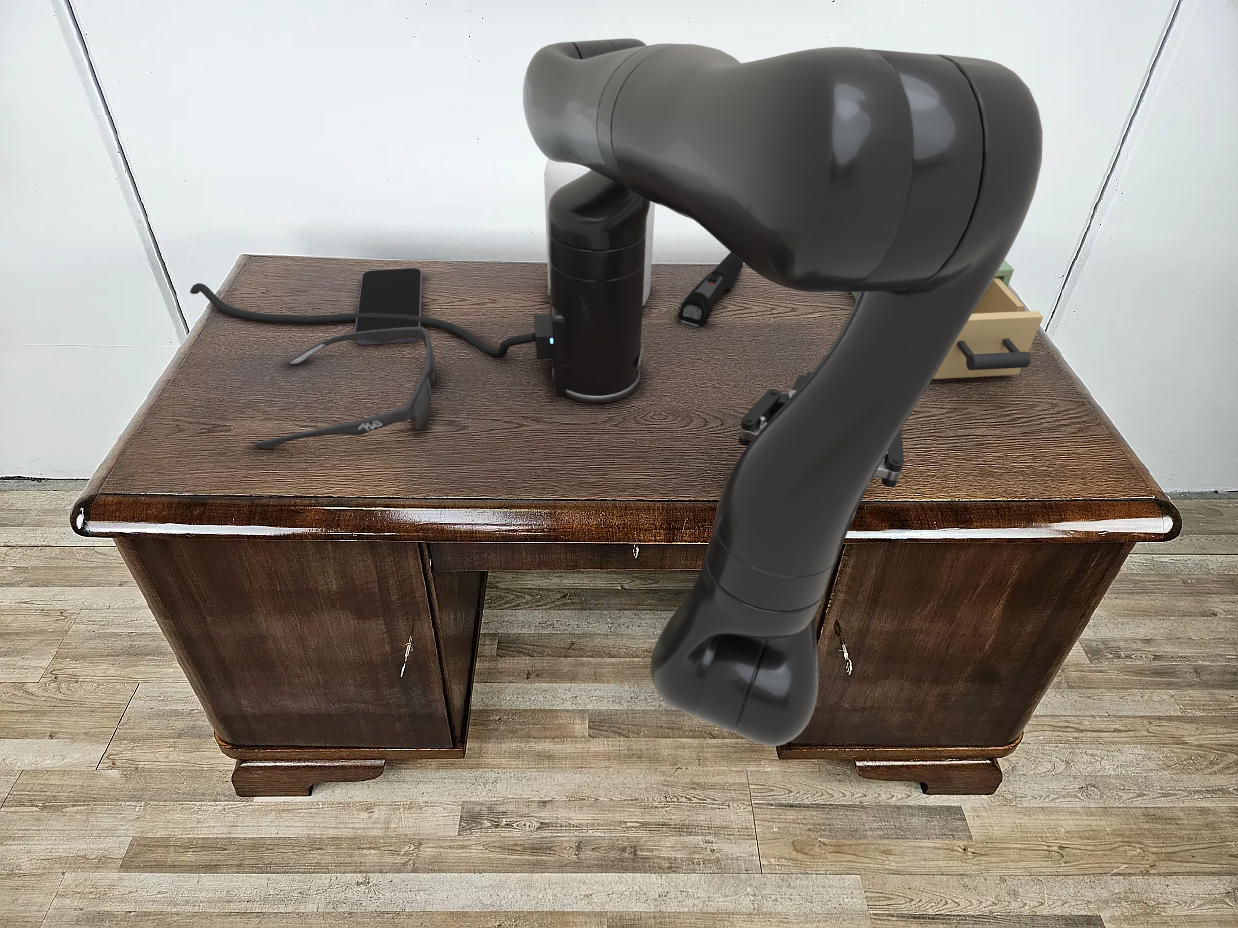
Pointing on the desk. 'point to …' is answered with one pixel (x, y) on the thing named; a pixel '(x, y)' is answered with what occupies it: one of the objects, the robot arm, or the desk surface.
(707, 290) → the electric trimmer
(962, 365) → the drawer
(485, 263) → the desk surface
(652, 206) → the can
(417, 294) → the smartphone
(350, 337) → the sunglasses
